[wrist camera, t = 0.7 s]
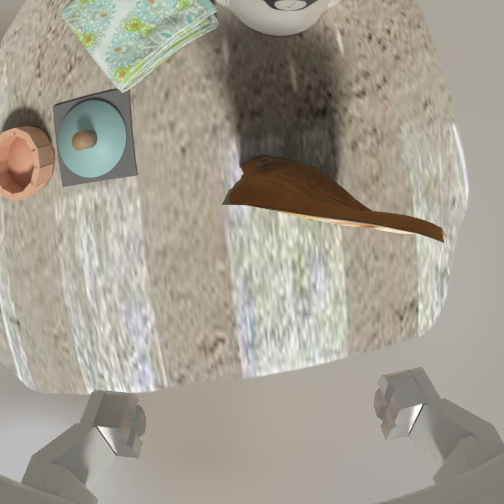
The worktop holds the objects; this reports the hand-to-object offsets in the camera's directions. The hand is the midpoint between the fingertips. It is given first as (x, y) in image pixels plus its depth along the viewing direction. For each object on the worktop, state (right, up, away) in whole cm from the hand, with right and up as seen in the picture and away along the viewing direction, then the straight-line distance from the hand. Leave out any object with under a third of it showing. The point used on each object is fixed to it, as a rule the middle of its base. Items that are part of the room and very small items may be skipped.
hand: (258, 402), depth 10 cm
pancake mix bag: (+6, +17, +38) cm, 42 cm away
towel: (-17, +41, +27) cm, 52 cm away
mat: (-25, +23, +34) cm, 48 cm away
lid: (-25, +23, +34) cm, 48 cm away
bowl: (-39, +21, +35) cm, 57 cm away
